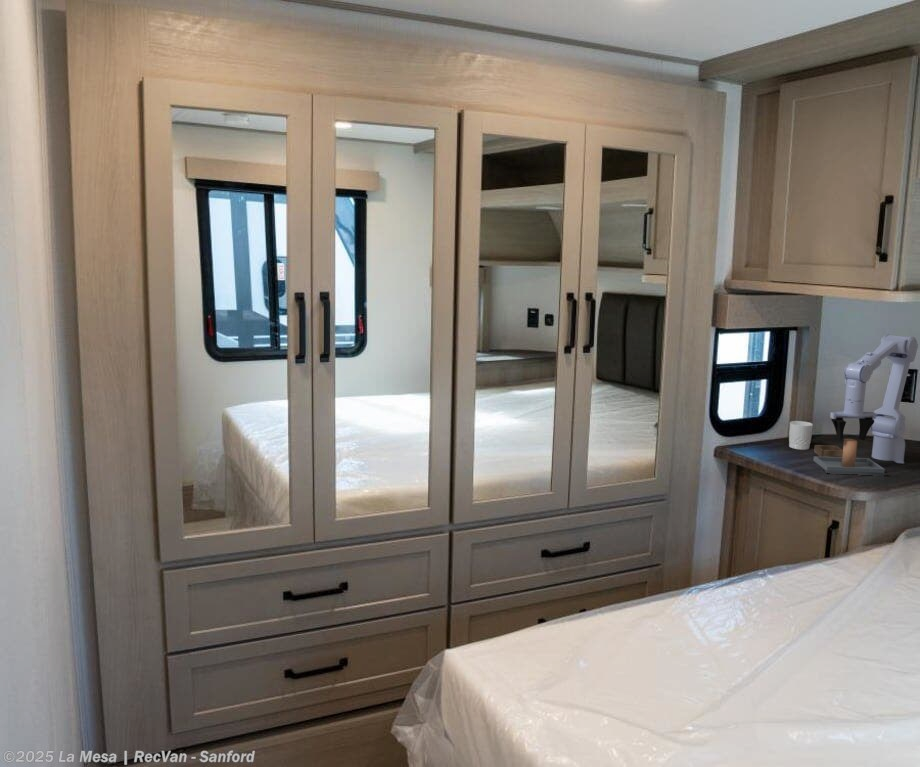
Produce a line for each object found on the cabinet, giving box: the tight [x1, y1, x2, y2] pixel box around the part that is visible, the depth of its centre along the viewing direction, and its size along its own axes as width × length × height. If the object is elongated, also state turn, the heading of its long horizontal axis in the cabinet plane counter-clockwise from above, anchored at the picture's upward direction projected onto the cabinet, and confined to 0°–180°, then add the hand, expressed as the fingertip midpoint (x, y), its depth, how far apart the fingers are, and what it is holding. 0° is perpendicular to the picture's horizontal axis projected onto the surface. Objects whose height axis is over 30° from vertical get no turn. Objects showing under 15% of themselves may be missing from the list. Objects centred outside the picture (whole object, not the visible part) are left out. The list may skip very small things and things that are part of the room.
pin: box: [841, 438, 858, 467], centre depth 256 cm, size 4×4×9 cm
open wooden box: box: [813, 444, 843, 457], centre depth 272 cm, size 8×8×4 cm
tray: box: [813, 455, 886, 477], centre depth 257 cm, size 18×13×2 cm
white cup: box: [788, 420, 814, 451], centre depth 282 cm, size 8×8×10 cm
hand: (850, 439), depth 256 cm, fingers open, 7 cm apart
